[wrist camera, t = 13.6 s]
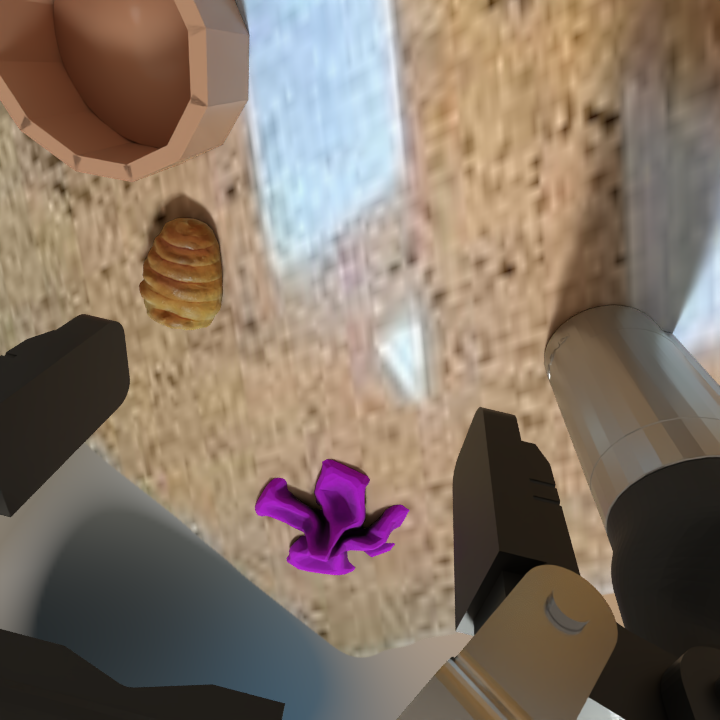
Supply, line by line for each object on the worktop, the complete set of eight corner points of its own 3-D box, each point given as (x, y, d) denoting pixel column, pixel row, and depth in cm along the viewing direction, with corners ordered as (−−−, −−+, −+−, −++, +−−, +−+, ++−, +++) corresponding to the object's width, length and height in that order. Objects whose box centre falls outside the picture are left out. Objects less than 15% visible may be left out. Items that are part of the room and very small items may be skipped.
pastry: (157, 201, 38) (133, 213, 35) (238, 230, 38) (221, 244, 35) (150, 300, 43) (127, 319, 40) (221, 324, 43) (204, 345, 40)
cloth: (310, 579, 64) (299, 625, 58) (223, 491, 56) (202, 534, 51) (461, 540, 55) (464, 588, 50) (383, 430, 48) (377, 474, 43)
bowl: (251, -68, 28) (203, -104, 22) (246, 175, 36) (210, 197, 30) (26, -107, 28) (-79, -153, 22) (70, 142, 36) (-1, 156, 30)
